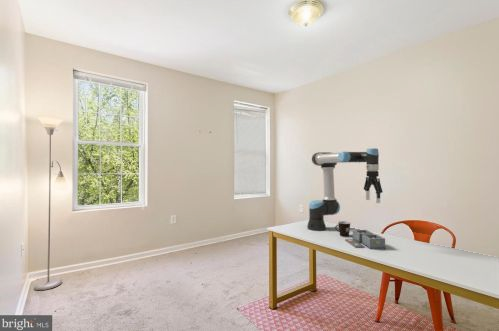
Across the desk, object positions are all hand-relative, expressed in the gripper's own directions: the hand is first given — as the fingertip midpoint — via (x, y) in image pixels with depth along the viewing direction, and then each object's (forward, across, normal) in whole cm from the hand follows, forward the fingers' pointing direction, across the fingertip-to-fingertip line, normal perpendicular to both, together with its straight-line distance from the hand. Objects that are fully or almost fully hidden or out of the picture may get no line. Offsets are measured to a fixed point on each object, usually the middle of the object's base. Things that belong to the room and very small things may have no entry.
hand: (372, 201), depth 175 cm
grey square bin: (+28, -4, -5) cm, 29 cm away
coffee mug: (+29, -18, -14) cm, 37 cm away
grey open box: (+28, +8, -4) cm, 30 cm away
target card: (+28, +2, -14) cm, 32 cm away
